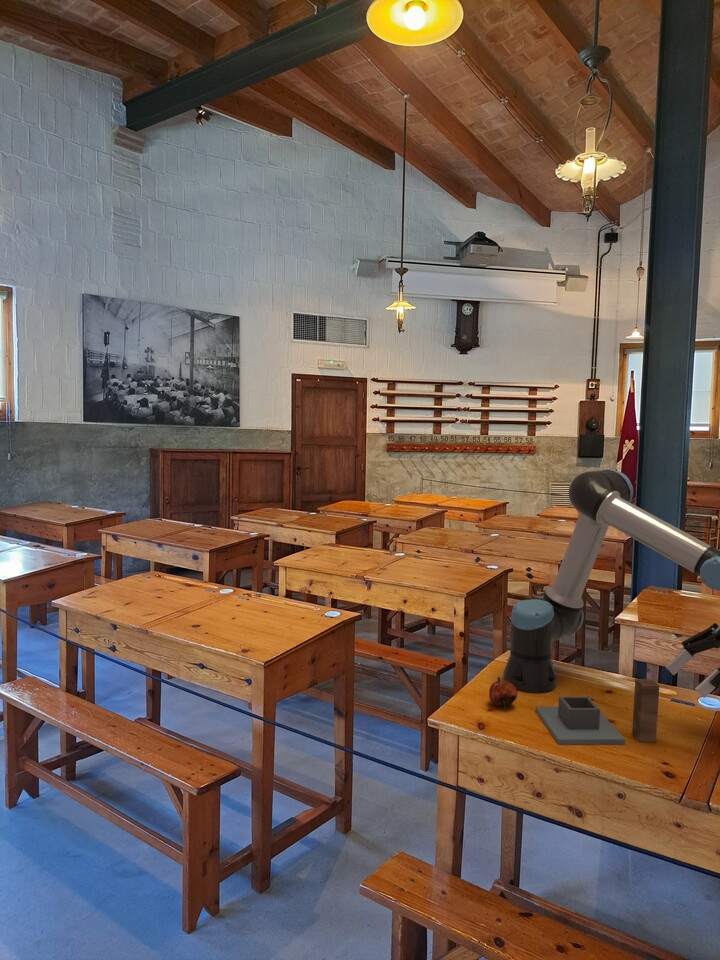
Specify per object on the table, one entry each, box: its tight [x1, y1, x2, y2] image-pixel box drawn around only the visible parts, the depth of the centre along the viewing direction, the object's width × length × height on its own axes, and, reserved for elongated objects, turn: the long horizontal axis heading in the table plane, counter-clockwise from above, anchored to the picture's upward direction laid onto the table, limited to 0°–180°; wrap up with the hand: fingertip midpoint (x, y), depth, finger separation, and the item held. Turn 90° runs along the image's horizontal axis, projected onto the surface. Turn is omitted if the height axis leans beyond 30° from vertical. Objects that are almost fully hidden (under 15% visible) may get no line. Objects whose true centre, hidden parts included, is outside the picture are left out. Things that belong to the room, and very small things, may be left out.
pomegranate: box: [488, 677, 518, 712], centre depth 178 cm, size 7×7×10 cm
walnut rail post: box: [631, 678, 660, 743], centre depth 161 cm, size 4×4×14 cm
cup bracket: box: [535, 696, 626, 745], centre depth 167 cm, size 18×16×6 cm
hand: (683, 681), depth 160 cm, fingers open, 13 cm apart
